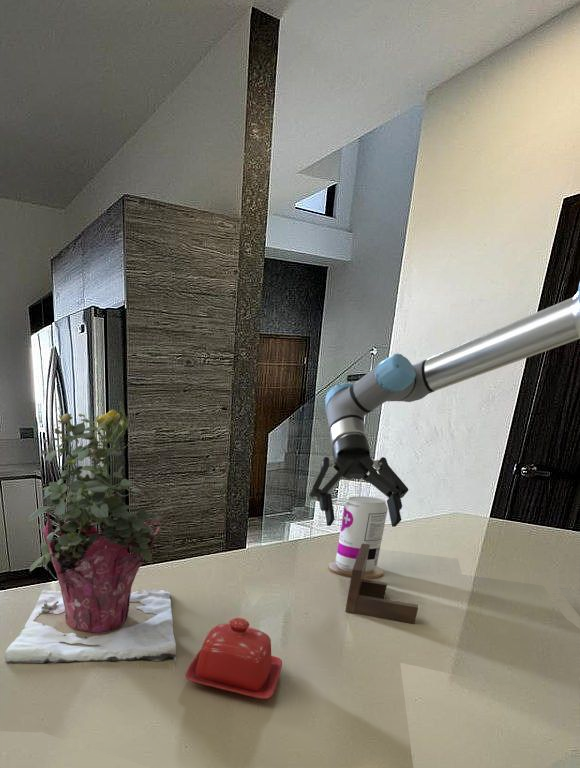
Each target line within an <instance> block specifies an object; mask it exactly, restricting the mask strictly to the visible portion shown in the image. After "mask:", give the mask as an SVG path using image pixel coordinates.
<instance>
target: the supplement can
mask: <svg viewBox="0 0 580 768" xmlns="http://www.w3.org/2000/svg"><path fill="white" fill-rule="evenodd" d="M388 511H389V509H388V505H387V500H385V499H384V498H383V499H382V498H379V497H372V496H350V497H348V500H347V501H346V502H345V504H344V505H343V513H342V519H341V524H340V531H339V538H338V544H337V550H336V554H335V555H336V556H335V561H336V564H337V565H338V567H340V568H341V569H343V570H346V571H351V572H352V570H353V567H354V564H355V561H356V559H357V556H358V553H359V550H360V548H361V545H362V544H369V545H370V548H369V553H368V558H367V564H366V569H365V572H371V571H372V570H373V569H375V568H376V567H377V566H378V561H379V556H380V550H381V545H382V541H383V536H384V530H385V525H386V520H387V514H388Z"/></svg>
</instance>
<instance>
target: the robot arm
mask: <svg viewBox="0 0 580 768" xmlns="http://www.w3.org/2000/svg"><path fill="white" fill-rule="evenodd" d="M577 289H578V290H577V292H576V294H574V295H573V296H572V297H570V298H567V299H565V300H563V301H561V302H558V303H556V304H554V305H551V306H548V307H547V308H544V309H542V310H539V311H537V312H535V313H531V314H530V315H527V316H525V317H523V318H520V319H518V320H515V321H513V322H510V323H509V324H506V325H503V326H501V327H499V328H496V329H494V330H492V331H490V332H487V333H485V334H482V335H480V336H478V337H475V338H473V339H470V340H468V341H466V342H464V343H461V344H459V345H456V346H454V347H451V348H449V349H447V350H444V351H442V352H440V353H437V354H435V355H433V356H430V357H427V358H426V359H423V360H421V361H419V362H416V363H413V364H412V363H411V361H410V360H409V359H408V358H407V357H406V356H404V355H403V354H402V353H394V354H392V355H390V356H389V357H387V358H385V359H384V360H381V361H380V362H379V363H378V364H377V365H376V366H375V367H374V368H372V369H371V370H370V371H369V372H367V373H366V374H365V375H363V376H362V377H360V379H358V380H357V381H355V382H354V383H351V382H350V383H349V382H343V383H340V384H339V385H335V386H333V387H331V389H329V390H328V392H327V393H326V395H325V400H324V402H325V409H324V410H325V415H326V418H327V423H328V428H329V429H328V430H329V438H330V444H331V447H332V448H331V450H332V457H333V459H330V457H328V456H324V457H323V458H322V461H321V463H320V466H319V467H320V468H319V473H318V476H317V478H316V480H315V482H314V483H313V485H312V488H311V490H310V492H309V494H308V495H309V497H310V498H316V500H317V502H318V503H319V509H320V510H321V511H322V512H324V514H325V521H326V522H325V523H326V526H327V527H331V526H332V524H333V523H334V521H335V520H336V517H335V511H334V504H333V499H332V494H331V491H332V490H333V489H334V487H336V485H337V484H339V482H340V481H342V479H346V480H363V481H364V482H366V483H370V484H371V485H372V486H373V487H374V488H376V489H377V490H378V491H380V493H382V494H383V495H384V496H386V497H387V498H388V499H387V500H386V506H387V508H388V513H389V519H390V524H391V527H392V528H393V527H397V526H398V525H399V524H400V523H401V521H402V517H401V510H402V509H403V504H402V498H404V497H405V496H406V494H407V493H408V492H409V490H410V489H409V488H408V486H407V485H406V484H405V483H404V481H403V480H402V479H401V478H400V477H399V476H398V475H397V473H396V472H395V471H394V470H393V468H392V467H390V465H389V463H388V460H387V458H386V457H384V456H381V457H380V459H376V460H375V459H372V458H371V450H370V445H369V441H368V434H367V429H366V425H365V419H364V417H365V416H367V415H368V414H370V413H371V412H373V411H374V410H376V409H377V408H378V407H380V406H381V405H383V404H384V403H386V402H405V403H412V402H415V401H420V400H422V399H424V398H426V396H428V395H429V394H432V393H434V392H437V391H439V390H442V389H445V388H448V387H450V386H453V385H455V384H459V383H461V382H464V381H467V380H470V379H472V378H475V377H478V376H481V375H484V374H486V373H489V372H492V371H495V370H497V369H500V368H502V367H503V368H504V367H506V366H508V365H511V364H514V363H516V362H520V361H522V360H525V359H528V358H530V357H534V356H536V355H539V354H542V353H545V352H547V351H550V350H553V349H555V348H559V347H561V346H563V345H566V344H569V343H573V342H574V341H577V340H580V282H579V284H578V288H577ZM331 468H333V469H334V470H335V471H336V473H335V475H333V477H332V478H331V479H330V480H329V481H328V482H327V483H326V484H325V485H324V486H323V488H320V486H321V484H322V482H323V480H324V478H325V476H326V474H327V472H328V471H329V470H330V469H331Z"/></svg>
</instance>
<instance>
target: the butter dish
mask: <svg viewBox="0 0 580 768" xmlns="http://www.w3.org/2000/svg"><path fill="white" fill-rule="evenodd" d="M228 622H229V623H220V624H217V625H214V627H213V628H211V630H210V631H209V632H208V633H207V635H206V637H205V639H204V640H203V643H202V645H201V646H202V647H201V648H200V650H199V651H198V652H197V654H195V657H194V658H193V659H192V661H191V663H190V665H189V666H188V667H187V670H186V671H185V673H184V678H185V679H186V680H187V681H190V682H192V683H195V684H199V685H204V686H207V687H211V688H216V689H221V690H224V691H227V692H228V691H229V692H232V693H235V694H240V695H244V696H247V697H252V698H255V699H262V700H268V699H271V698H272V697H273V696H274V693H275V690H276V688H277V684H278V682H279V678H280V674H281V671H282V666H283V661H282V659H281V658H280V657H278V656H275V655H272V641H271V637H270V636H269V635H268V634H267V633H265V632H264V631H261V630H259V629H256V628H254V627H251V626H250V622H249V621H248V620H247V619H245V618H242V617H234V618H231V619H230V620H229V621H228Z"/></svg>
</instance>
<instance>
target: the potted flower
mask: <svg viewBox="0 0 580 768" xmlns="http://www.w3.org/2000/svg"><path fill="white" fill-rule="evenodd" d="M118 405H119V410H118V412H117V410H115V409H110V410H109V411H108V412H106V413H104V414H101V416H99V415H98V414H97V415H96V417H95V418H94V420H93V422H91V420H90V419H88V418H87V417H86V416H85V414H83V413H78V417H79V418H81V419H80V421H82V422H81V423H77V424H75V425H74V424H72V422H71V420H73V416H72V415H73V413H65V414H63V415H62V416H61V414H62V413H61V409H60V407H57V409H58V411H59V415H58V418H59V420H58V421H57V423H59V424H61V426H57V427H55V426H56V423H55V424H54V425H52V428H54V429H53V430H54V433H55V435H58V436H59V438H58V437H53V438H50V440H51V441H50V442H49V444H48V446H47V447H48V450H49V452H48V451H46V449H42V450H41V449H40V452H41V453H40V456H41V458H42V457H44V455H45V454H46V456H45V458H44V459H45V461H49V462H51V463H52V461H53V460H54V459H55V457H56V456H57V453H60V454H59V455H58V457H59V458H61V457H62V456H63V453H65V452H66V453H67V455H66V457H65V462H64V463H63V466H62V465H61V466H59V467H58V468H59V470H58V472H60V473H61V478H60V479H58V481H49V482H48V486H45V487H44V488H42V491H44V492H43V493H44V494H43V495H44V497H43V498H42V499H43V500H45V499H46V498H48V497H49V500H50V503H52V504H53V506H49V505H46V506H45V505H44V506H40V507H38V508H37V509H36V510H35V511H34V512H32V513H31V515H29V516H28V524H30V523H31V522H33V521H34V520H36V519H37V518H39V516H42V515H43V514H44V513H45V512H46V513H47V515H46V516H47V522H46V525H45V526H44V528H43V529H42V534H43V537H44V540H45V543H44V542H41V543H40V551H41V553H42V556H40V557H39V558H38V559H36V560H35V561H34V562H33V563H32V564H31V565H30V568H29V572H32V571H33V570H35V569H36V568H37V567H38V565H39V564H41V563H43V564H44V565H47V564H48V563H49V562H50V561H51V563H52V566H53V568H54V570H55V573H56V577H57V581H58V584H59V586H60V590H51V589H50V590H49V589H42V590H41V593H40V595H39V597H38V599H37V601H36V603H35V606H34V609H33V610H32V611H31V614H30V616H29V618H28V619H27V621H26V622H25V625H24V626H23V628H24V629H22V630H21V631H20V633H19V635H18V636H17V637H15V638H14V640H13V642H11V643H10V644H9V646H8V647H7V648H6V650H5V652H4V663H6V664H7V663H8V664H45V663H47V662H52V663H53V664H56V663H60V662H61V663H64V662H65V663H73V662H79V663H81V662H82V661H83V662H85V661H90V662H93V661H95V662H102V661H106V662H108V661H109V662H110V661H112V662H114V661H117V662H118V661H119V660H123V661H134V660H146V661H149V662H150V661H151V662H163V661H165V660H167V659H168V658H170V659H171V658H172V659H173V660H174V663H175V664H177V657H176V654H177V653H176V652H177V651H176V650H177V647H176V646H177V643H176V639H175V635H174V624H173V623H174V618H173V614H172V603H171V602H172V601H171V592H170V589H169V590H168V589H162V590H160V589H153V588H149V589H144V590H137V591H134V592H132V587H133V583H134V581H135V578H136V575H137V573H138V572H139V570H140V568H141V566H142V565H143V563H144V561H146V562H149V563H151V562H152V558H153V554H152V552H151V551H150V550H151V548H152V546H153V544H154V542H155V540H156V539H155V538H156V535H157V534H158V532H159V531H160V530H161V528H162V526H161V525H163V522H161V521H164V518H165V517H166V515H163V512H161V514H160V513H159V511H157V512H155V513H150V514H148V512H147V511H146V510H145V509H143V508H140V509H138V511H137V513H136V512H129V509H130V510H135V508H134V506H131V505H129V504H126V503H125V502H124V501H122V498H125V497H129V496H130V495H131V494H145V495H148V496H150V497H152V498H155V496H154V495H152V494H151V493H149V491H146V490H145V491H141V489H140V488H135V487H133V482H132V480H131V481H130V480H129V479H127V478H125V477H123V473H122V469H123V468H124V465H122V462H121V461H120V460H115V461H112V460H110V456H121V455H123V451H121V449H122V447H121V446H120V444H119V443H120V440H119V438H121V437H124V436H125V435H126V431H127V429H128V428H129V427H130V421H129V419H128V417H127V416H126V412H125V405H124V403H123V401H120V402H119V403H118ZM121 414H122V416H121ZM82 417H83V419H82ZM119 419H120V420H119ZM118 420H119V422H117V421H118ZM85 423H87V424H88V423H89V424H91V425H92V426H88V427H86V425H85ZM94 423H96V424H97V426H96V425H95V424H94ZM60 428H61V430H60ZM111 429H112V430H111ZM65 431H66V432H67V433H65V434H64V432H65ZM93 431H95V432H93ZM101 431H104V432H105V434H102V433H101ZM96 432H97V433H96ZM70 433H71V434H72V435H71V434H70ZM116 433H117V437H116V435H115V434H116ZM95 434H96V435H99V438H98V439H99V440H98V439H97V436H96V437H95ZM131 434H132V435H133V434H134V432H133V431H132V432H131ZM115 437H116V438H115ZM113 438H115V439H114V440H113ZM148 438H149V439H150V440H151V441H156V439H155V438H154V437H152V436H149V437H148ZM60 439H61V440H60ZM79 439H80V442H81V443H80V442H79ZM59 440H60V442H61V444H56V445H55V447H57V448H58V449H57V450H53V448H54V445H53V442H55V441H59ZM83 440H88V441H89V443H88V444H85V445H84V442H83ZM104 440H105V441H104ZM48 441H49V440H48V439H43V440H42V442H43V443H44V444H45V443H47V442H48ZM73 441H76V443H77V444H80V445H79V446H77V447H75V448H74V449H73V450H72V448H73V447H74V444H71V446H70V449H69V446H68V445H67V443H68V442H69V443H73ZM100 443H101V444H100ZM108 444H113V445H112V446H111V447H108ZM122 444H123V445H124V446H123V449H125V448H126V447H127V446H129V445H131V442H129V443H128V444H127V445H126V443H125V442H122ZM63 445H64V447H63ZM125 445H126V446H125ZM71 452H72V453H71ZM69 457H70V458H69ZM86 458H89V459H90V460H91V461H92V462H94V463H93V465H84V466H83V465H79V466H77V465H76V464H77V460H78V461H79V462H83V461H84V460H85V459H86ZM100 463H101V464H103V465H100ZM112 464H115V465H121V466H120V467H119V469H118V471H113V473H112V475H110V474H109V472H110V471H109V469H110V466H111V465H112ZM69 466H70V469H68V468H69ZM64 467H65V469H64V470H63V469H62V468H64ZM83 471H89V472H91V473H92V474H93V476H94V477H91V475H89V473H87V474H85V475H84V476H82V475H81V474H82V473H83ZM67 475H68V477H67ZM69 477H70V478H71V479H72V480H71V479H70V478H69ZM138 477H139V478H141V477H142V475H139V474H138V475H133V476H132V478H134V479H135V478H138ZM112 478H118V479H121V482H119V483H117V484H112V482H114V481H115V480H114V479H112ZM75 479H76V480H75ZM64 481H67V483H64ZM135 484H140V481H137V482H135ZM131 487H133V488H131ZM129 488H131V489H129ZM68 489H69V490H70V492H69V493H68V494H65V493H66V492H67V491H68ZM115 490H119V491H121V490H127V491H128V492H129V493H128V494H121V493H120V492H118V491H117V492H116V494H115V493H114V492H115ZM89 492H90V493H89ZM113 493H114V494H113ZM65 500H67V503H66V502H65ZM69 507H71V509H70V510H67V511H66V508H67V509H69ZM51 509H53V510H54V519H51V517H50V513H49V512H50V510H51ZM109 513H110V514H109ZM161 515H163V516H161ZM152 516H153V518H151V517H152ZM59 517H60V518H59ZM62 520H67V521H69V522H68V523H67V522H65V521H64V522H63V521H62ZM55 523H57V525H58V526H57V527H56V528H55V529H53V524H55ZM150 523H151V524H150ZM43 524H44V522H42V523H39V524H37V525H35V526H31V528H30V530H37V531H39V530H41V525H43ZM154 524H156V525H159V526H157V527H156V529H154V528H152V526H154ZM97 525H99V528H100V532H99V531H98V530H97V528H96V526H97ZM77 530H78V531H77ZM154 531H155V532H154ZM152 532H153V533H152ZM55 535H57V537H56V538H54V536H55ZM130 546H131V547H133V548H130ZM129 549H130V552H129V551H128V550H129ZM130 603H140V604H142V605H138V606H135V610H140V611H142V612H143V613H144V614H153V615H154V616H152V617H150V618H149V619H147V620H145V621H142V622H140V623H137V624H134V625H131V626H128V627H123V628H121V629H119V630H115V629H117V627H122V626H123V625H124V623H125V621H127V619H128V616H129V611H130ZM64 612H65V615H64V616H65V624H67V625H68V626H69V627H70V628H72V629H74V630H77V631H81V632H88V633H94V634H95V633H96V634H98V633H101V632H107V631H108V630H110V631H111V630H112V632H109V633H107V634H102V635H92V636H90V637H88V636H85V637H83V638H82V637H78V636H77V633H74V632H68V633H65V632H61V631H59V630H57V629H56V628H55V627H53V626H51V625H47V624H45V625H44V623H42V622H37V621H35V620H36V619H37V617H39V616H40V614H45V613H47V614H52V613H53V614H54V615H59V614H62V613H64ZM113 630H114V631H113ZM75 644H83V645H85V646H82V645H81V646H80V645H75Z"/></svg>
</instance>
